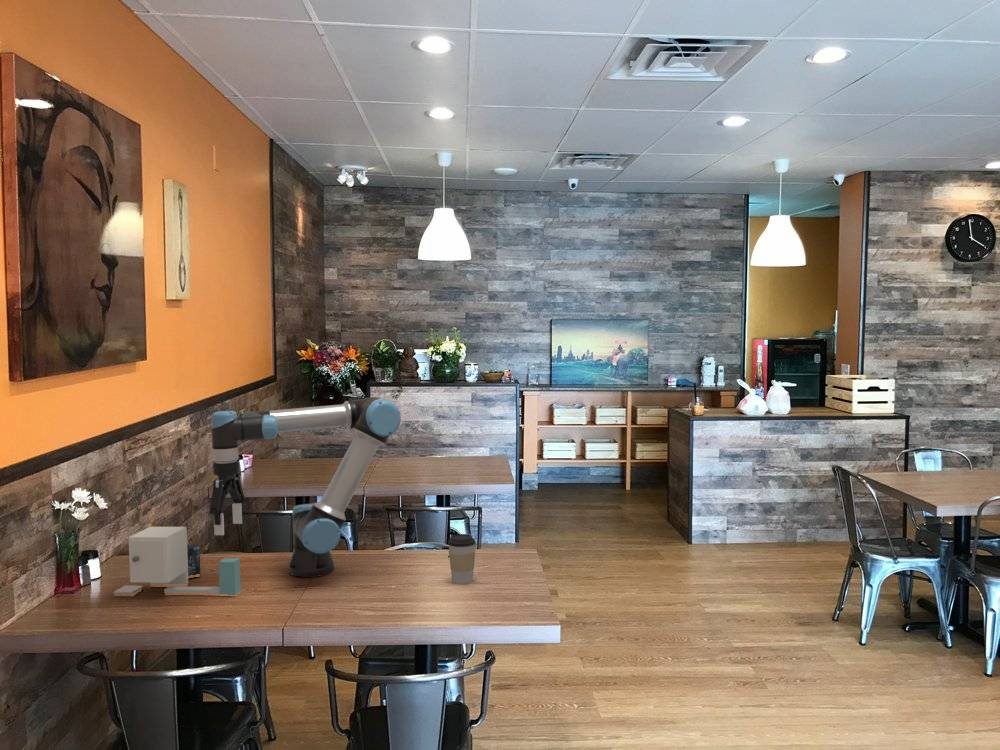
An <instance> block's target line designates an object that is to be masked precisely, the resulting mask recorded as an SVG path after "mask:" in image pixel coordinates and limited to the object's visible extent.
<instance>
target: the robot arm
mask: <svg viewBox="0 0 1000 750" xmlns="http://www.w3.org/2000/svg"><path fill="white" fill-rule="evenodd" d="M237 414H238V413H237V412H236V411H235V410H219V411H215V412H213V413H212V414H211V415H210V416H211V417H210V418H211V419H210V420H211V424H210V426H211V427H210V428H211V429H210V430H211V445H212V447H211V448H212V450H211V454H212V461H213V464H212V468H213V469H212V471H213V472H212V473H213V475H215V476H217V477H218V480H213V484H212V487H213V488H212V494H211V500H210V506H209V514H210V515H213V528H214V529H213V530H214V531H213V532H214V536H224V535H225V520H224V513H223V510H224V506H225V502H226V499H227V495H230V497H231V499H232V501H233V503H232V504H231V505H232V506H231V507H232V508H231V510H232V524H233V525H236V524H237V525H242V524H243V512H242V511H243V510H242V509H243V508H242V503H245V494H244V493H245V492H244V490H243V487H242V483H241V479H240V464H239V463H240V462H239V461H238V460H239V456H240V455H239V442H244V441H258V440H259V441H260V440H266V441H267V440H271V439H275V438H276V437H277V436H278V434H279V433H285V432H286V433H288V432H297V431H305V430H306V431H307V430H308V431H310V430H316V429H317V430H319V429H329V428H337V427H338V428H339V427H340V428H341V427H345V428H347V429H348V430H349V429H350V430H351V429H353V431H354V437H353V439H352V441H351V442H350V444H349V447H348V448H347V450H346V452H345V454H344V456H343V457H342V459H341V462H340V463H339V465H338V467H337V469H336V471H335V473H334V474H333V477H332V479H331V481H330V483H329V484H328V486H327V488H326V489H325V492H324V493H323V496H322V497H321V500H319V501H317V502H314V503H305V504H304V503H303V504H297V505H295V506H293V508H292V514H291V516H292V540H293V544H292V545H293V546H292V547H293V550H292V554H291V558H290V559H289V560H290V561H289V563H288V574H289V573H290V574H293V575H295V576H294V577H296V576H302V577H301V578H313V576H316V577H320V576H319V575H322V576H325V575H324V574H326V575H328V574H330V572H331V573H332V572H334V570H335V561H334V558H333V556H332V553H331V551H333V550H334V549H335V548H336V547H337V546H338V544H339V543H340V540H341V534H342V533H341V529H342V527H343V525H344V524H345V522H346V515H345V512H346V509H347V508H348V506H349V504H350V503H351V501H352V498H353V496H354V495H355V493H356V491H357V489H358V487H359V485H360V483H361V481H362V479H363V477H364V475H365V473H366V471H367V470H368V468H369V466H370V464H371V462H372V460H373V458H374V457H375V454H376V452H377V450H378V449H379V448H380V447H382V446H386V443H387V441H388V440H389V438H390V436H391V435H393V434H394V433H396V432H397V430H398V429H399V427H400V424H401V420H402V415H401V411H400V409H399V408H398V406H397V405H396V404H395V403H393V402H392V401H390V400H388V399H385V398H380V397H378V396H377V397H376V396H373V397H372V396H371V397H364V398H361V399H352V400H346V401H344V402H343V403H342V404H332V405H318V406H308V407H298V408H285V409H275V410H262V411H255V410H252V411H247V412H245V413H244V414H243V415H242V416H238V415H237ZM290 574H289V575H290Z"/></svg>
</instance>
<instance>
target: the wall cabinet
mask: <svg viewBox="0 0 1000 750" xmlns="http://www.w3.org/2000/svg"><path fill="white" fill-rule="evenodd" d="M187 532H188V530H187V526H149V527H147V528H145V529H142V530H140V531H139V532H137V533H135V534H132V535H130V536H128V555H129V559H128V561H129V579H130V580H129V582H130V583H149V585H150V584H161V585H163V584H187V583H189V580H188V554H187V545H188V535H187Z"/></svg>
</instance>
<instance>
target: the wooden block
mask: <svg viewBox="0 0 1000 750" xmlns="http://www.w3.org/2000/svg"><path fill="white" fill-rule="evenodd" d="M142 587H143V588H144V585H123V586H122V587H119V588H118V589H116V590H114V592H113V594H114V593H130V594H132V593H134V592H136V591H137V590H139V589H140V588H142Z"/></svg>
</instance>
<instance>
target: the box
mask: <svg viewBox="0 0 1000 750" xmlns="http://www.w3.org/2000/svg"><path fill="white" fill-rule="evenodd" d="M187 554H188V576H190V575H196V574H200V575H201V547H200V546H199V545H197V544H194V543H190V544H187Z"/></svg>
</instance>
